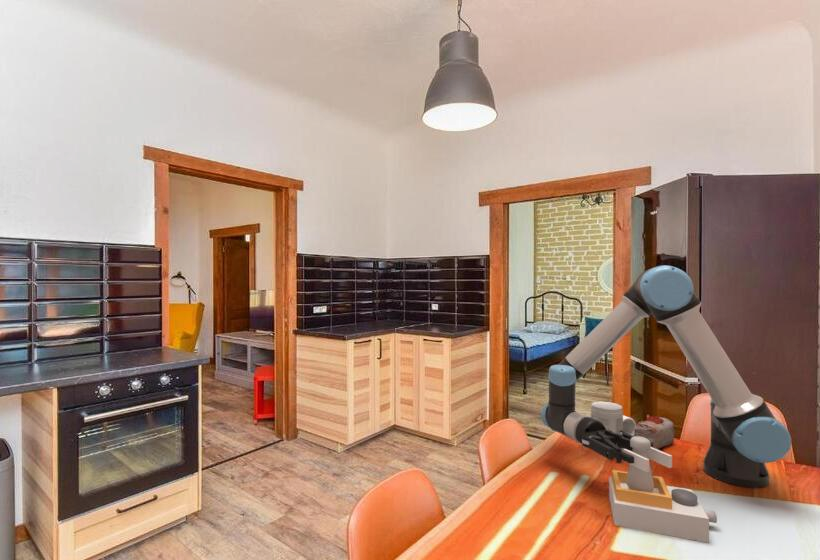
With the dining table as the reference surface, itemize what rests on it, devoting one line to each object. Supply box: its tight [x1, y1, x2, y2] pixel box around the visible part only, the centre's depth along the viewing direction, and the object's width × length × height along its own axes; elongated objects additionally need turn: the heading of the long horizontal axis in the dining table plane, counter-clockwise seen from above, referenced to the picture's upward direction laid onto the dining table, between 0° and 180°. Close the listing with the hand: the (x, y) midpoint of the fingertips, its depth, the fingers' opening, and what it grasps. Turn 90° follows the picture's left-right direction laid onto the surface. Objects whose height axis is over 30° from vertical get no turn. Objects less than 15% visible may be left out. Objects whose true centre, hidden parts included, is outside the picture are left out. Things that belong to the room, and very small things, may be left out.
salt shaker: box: [626, 436, 654, 493], centre depth 102 cm, size 6×6×13 cm
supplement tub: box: [590, 401, 624, 453], centre depth 141 cm, size 10×10×15 cm
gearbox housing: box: [608, 469, 718, 544], centre depth 100 cm, size 21×14×8 cm, turn 70°
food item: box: [634, 414, 675, 450], centre depth 146 cm, size 14×8×10 cm, turn 124°
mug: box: [623, 414, 637, 436], centre depth 155 cm, size 12×10×8 cm
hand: (659, 463), depth 97 cm, fingers open, 6 cm apart
